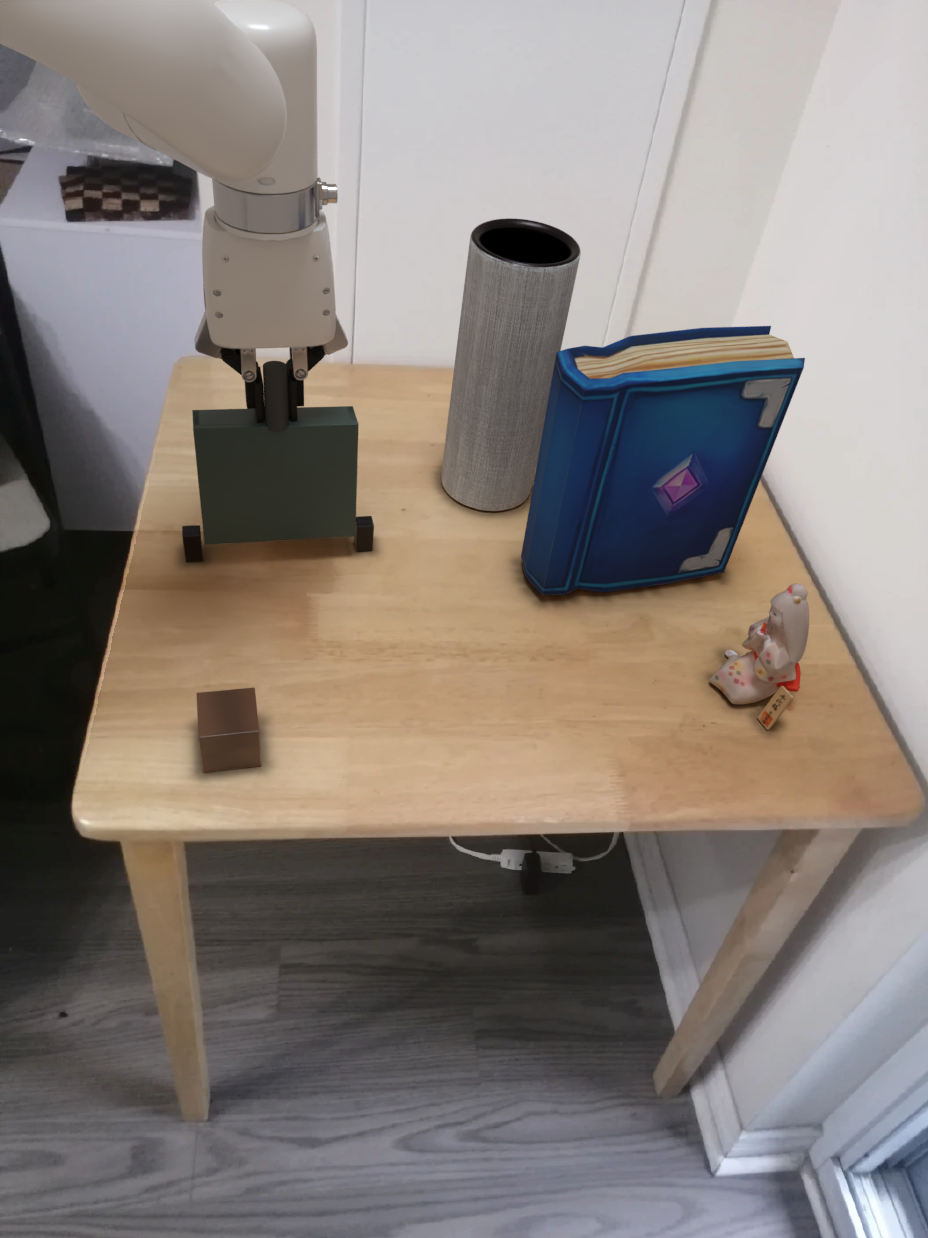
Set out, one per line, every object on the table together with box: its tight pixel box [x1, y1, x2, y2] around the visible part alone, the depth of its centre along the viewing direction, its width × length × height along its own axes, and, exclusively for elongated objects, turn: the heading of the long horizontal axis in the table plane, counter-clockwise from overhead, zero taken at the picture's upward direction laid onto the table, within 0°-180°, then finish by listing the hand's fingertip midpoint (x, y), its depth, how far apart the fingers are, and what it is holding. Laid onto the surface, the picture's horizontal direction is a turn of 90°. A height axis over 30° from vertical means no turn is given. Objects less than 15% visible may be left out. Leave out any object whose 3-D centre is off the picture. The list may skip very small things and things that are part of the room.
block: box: [196, 687, 262, 773], centre depth 73 cm, size 4×4×4 cm
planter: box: [440, 218, 582, 512], centre depth 93 cm, size 10×10×27 cm
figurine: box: [709, 582, 810, 731], centre depth 82 cm, size 9×7×12 cm
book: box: [520, 325, 806, 596], centre depth 86 cm, size 22×7×25 cm, turn 108°
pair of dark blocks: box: [181, 515, 375, 563], centre depth 90 cm, size 2×18×3 cm, turn 103°
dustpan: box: [191, 360, 359, 546], centre depth 84 cm, size 17×14×4 cm
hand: (275, 411), depth 82 cm, fingers closed, pressing on dustpan
